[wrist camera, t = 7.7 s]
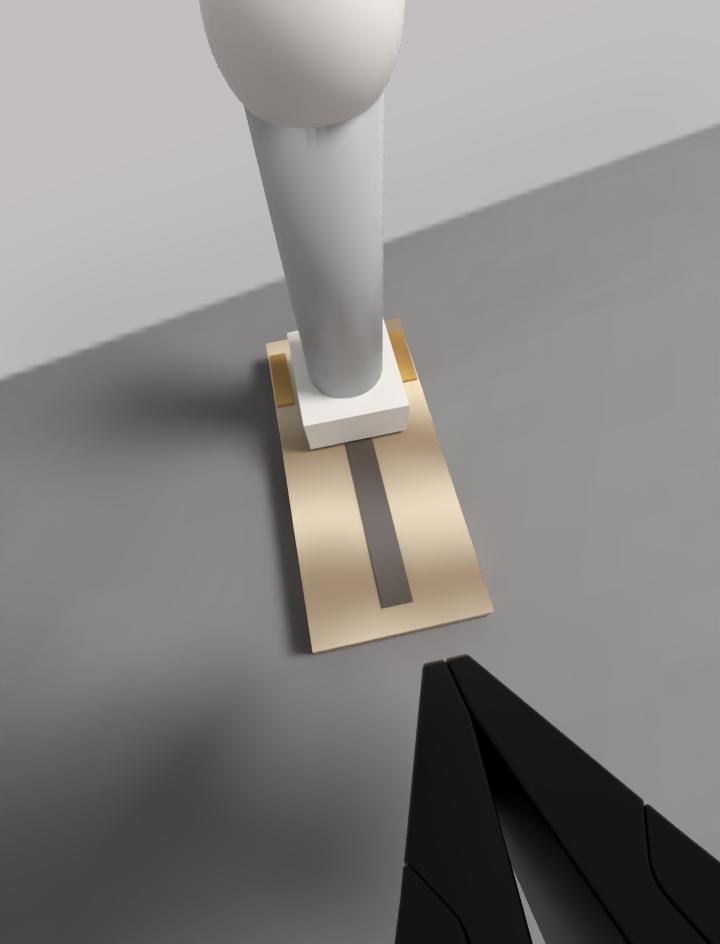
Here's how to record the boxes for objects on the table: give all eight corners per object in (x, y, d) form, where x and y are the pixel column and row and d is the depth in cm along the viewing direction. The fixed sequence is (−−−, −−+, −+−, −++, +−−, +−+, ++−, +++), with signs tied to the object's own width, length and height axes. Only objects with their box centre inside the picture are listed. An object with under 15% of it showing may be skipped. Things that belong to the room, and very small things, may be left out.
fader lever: (406, 429, 20) (466, -126, 6) (310, 449, 20) (146, -79, 6) (381, 344, 22) (383, -214, 8) (294, 361, 22) (145, -182, 8)
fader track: (485, 616, 18) (495, 611, 17) (317, 654, 18) (311, 652, 16) (397, 338, 24) (399, 315, 23) (272, 362, 24) (265, 340, 23)
